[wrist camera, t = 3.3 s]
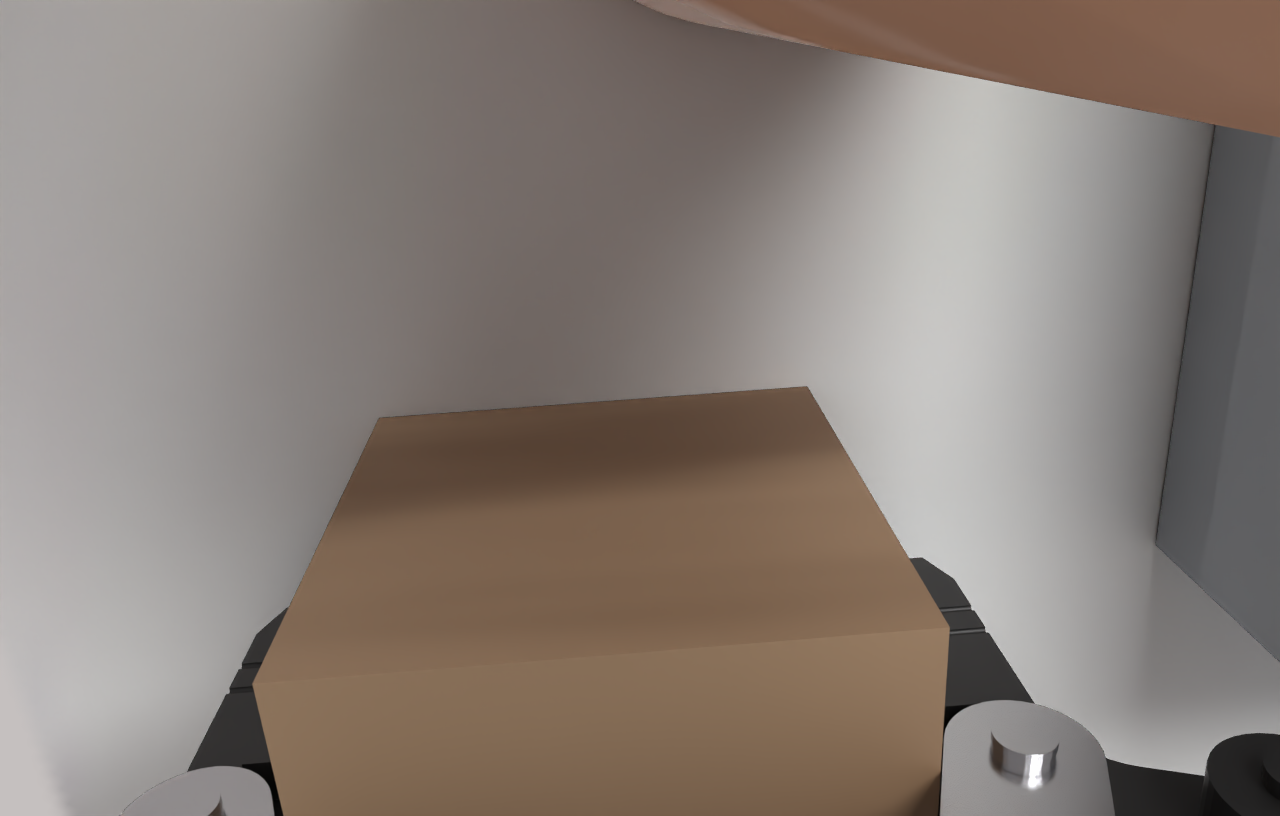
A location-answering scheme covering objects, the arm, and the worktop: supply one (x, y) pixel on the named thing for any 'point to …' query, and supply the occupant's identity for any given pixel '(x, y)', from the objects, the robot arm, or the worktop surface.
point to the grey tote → (1232, 394)
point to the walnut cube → (608, 623)
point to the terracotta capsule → (1050, 46)
